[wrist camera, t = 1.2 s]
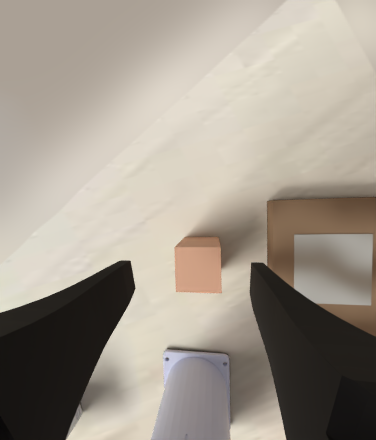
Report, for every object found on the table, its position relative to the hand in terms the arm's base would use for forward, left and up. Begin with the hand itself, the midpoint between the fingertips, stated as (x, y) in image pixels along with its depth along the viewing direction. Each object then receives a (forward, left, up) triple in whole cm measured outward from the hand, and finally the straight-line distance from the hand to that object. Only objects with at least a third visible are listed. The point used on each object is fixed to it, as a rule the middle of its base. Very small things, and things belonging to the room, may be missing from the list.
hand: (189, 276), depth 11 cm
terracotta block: (-1, 0, -11) cm, 11 cm away
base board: (-2, -13, -11) cm, 17 cm away
